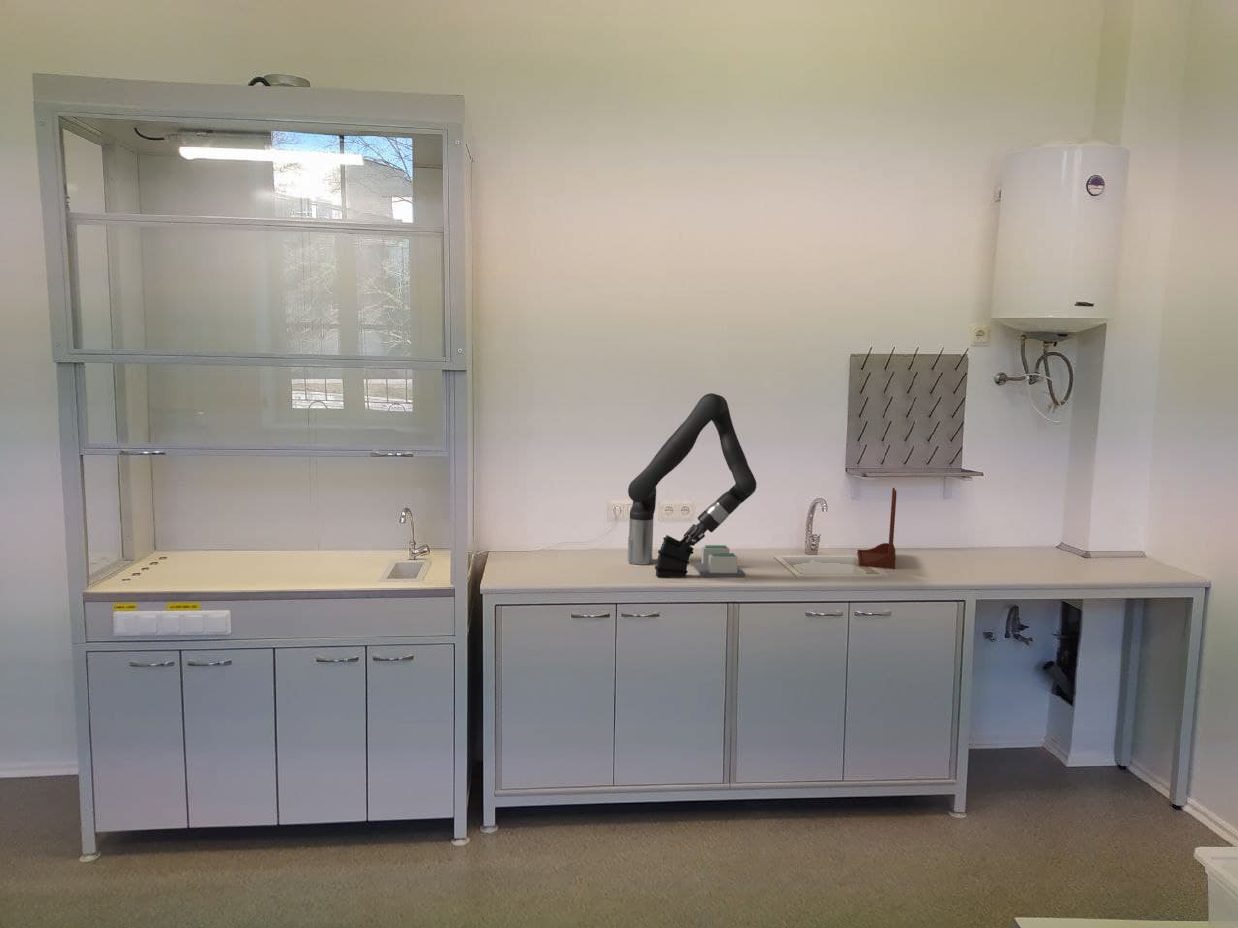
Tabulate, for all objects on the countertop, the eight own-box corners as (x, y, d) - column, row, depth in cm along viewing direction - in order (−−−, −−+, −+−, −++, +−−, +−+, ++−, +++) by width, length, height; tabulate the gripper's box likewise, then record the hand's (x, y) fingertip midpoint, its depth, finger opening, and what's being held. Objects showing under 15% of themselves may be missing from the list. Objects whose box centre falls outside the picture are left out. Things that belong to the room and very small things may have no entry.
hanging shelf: (857, 553, 326) (861, 483, 322) (890, 556, 322) (894, 485, 319) (859, 566, 302) (864, 491, 299) (894, 569, 299) (899, 493, 296)
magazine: (646, 571, 278) (665, 534, 278) (677, 585, 281) (696, 549, 281) (649, 573, 275) (668, 536, 275) (680, 588, 278) (699, 551, 278)
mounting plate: (701, 577, 279) (702, 554, 278) (693, 565, 295) (694, 544, 295) (745, 577, 280) (746, 555, 279) (734, 565, 297) (735, 544, 296)
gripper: (702, 505, 284) (669, 537, 284) (710, 512, 270) (675, 546, 270) (716, 520, 285) (682, 551, 285) (724, 527, 271) (689, 561, 271)
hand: (679, 548), depth 278 cm, fingers open, 4 cm apart
